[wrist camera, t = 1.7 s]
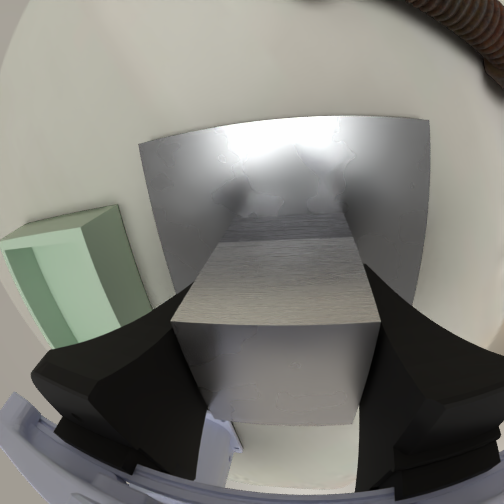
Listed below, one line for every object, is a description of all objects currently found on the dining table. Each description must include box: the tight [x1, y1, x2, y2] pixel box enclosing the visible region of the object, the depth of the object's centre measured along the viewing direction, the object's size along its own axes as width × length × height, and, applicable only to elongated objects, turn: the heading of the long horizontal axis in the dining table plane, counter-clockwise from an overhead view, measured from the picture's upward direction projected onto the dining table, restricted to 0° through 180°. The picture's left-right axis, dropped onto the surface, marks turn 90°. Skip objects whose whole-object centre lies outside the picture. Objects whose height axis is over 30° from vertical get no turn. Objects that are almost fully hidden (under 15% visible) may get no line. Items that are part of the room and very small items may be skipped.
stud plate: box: [138, 116, 430, 306], centre depth 11 cm, size 12×12×3 cm
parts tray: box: [0, 205, 152, 349], centre depth 16 cm, size 12×10×3 cm
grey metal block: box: [170, 212, 381, 426], centre depth 9 cm, size 4×4×6 cm
